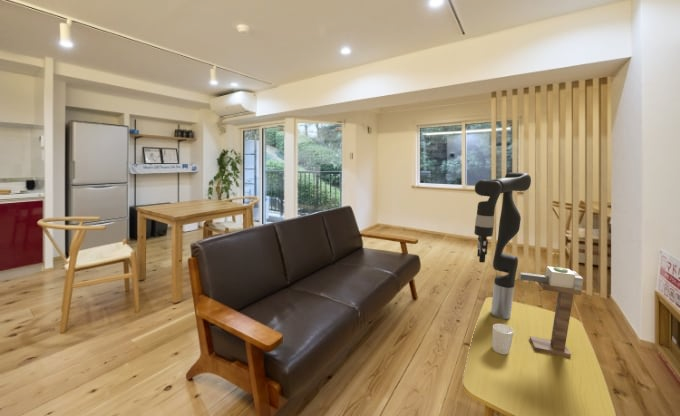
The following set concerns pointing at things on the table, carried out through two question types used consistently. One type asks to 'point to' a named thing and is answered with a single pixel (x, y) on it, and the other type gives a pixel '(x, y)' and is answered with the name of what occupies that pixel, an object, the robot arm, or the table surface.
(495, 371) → the table surface
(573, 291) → the wooden pedestal stand
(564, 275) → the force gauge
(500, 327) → the white cup
